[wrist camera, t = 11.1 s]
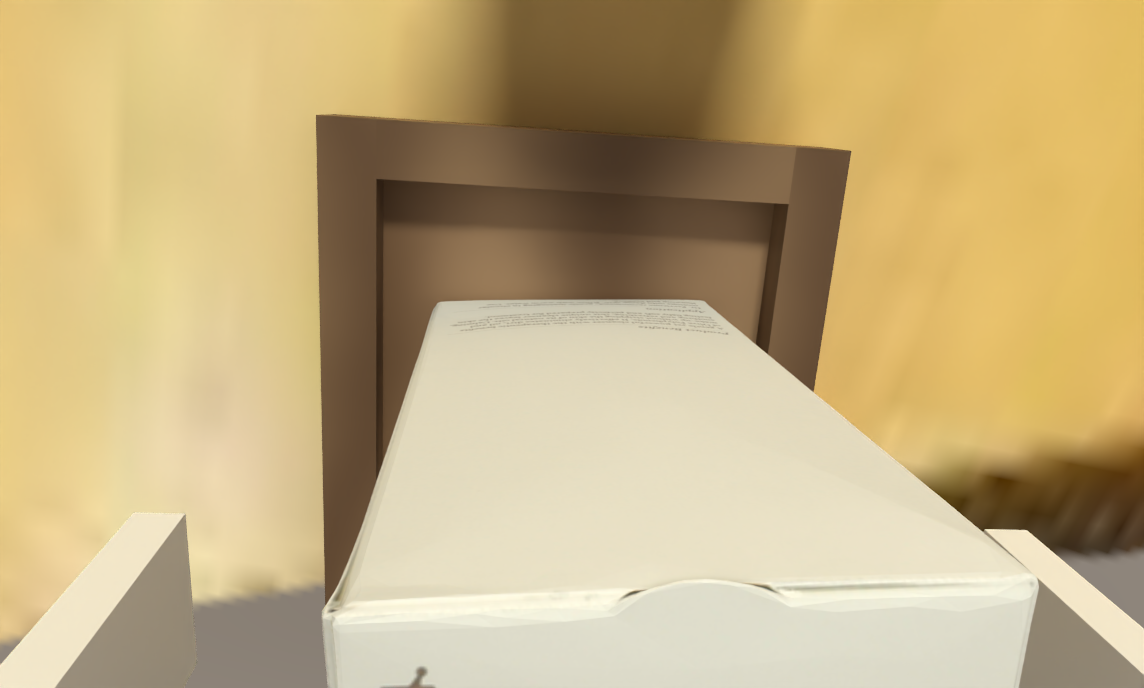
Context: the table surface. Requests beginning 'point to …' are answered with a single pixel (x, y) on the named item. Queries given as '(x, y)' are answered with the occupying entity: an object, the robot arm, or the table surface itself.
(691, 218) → the brown wooden tray
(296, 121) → the table surface
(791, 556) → the skincare box
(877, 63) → the table surface
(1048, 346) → the table surface
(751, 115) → the table surface
